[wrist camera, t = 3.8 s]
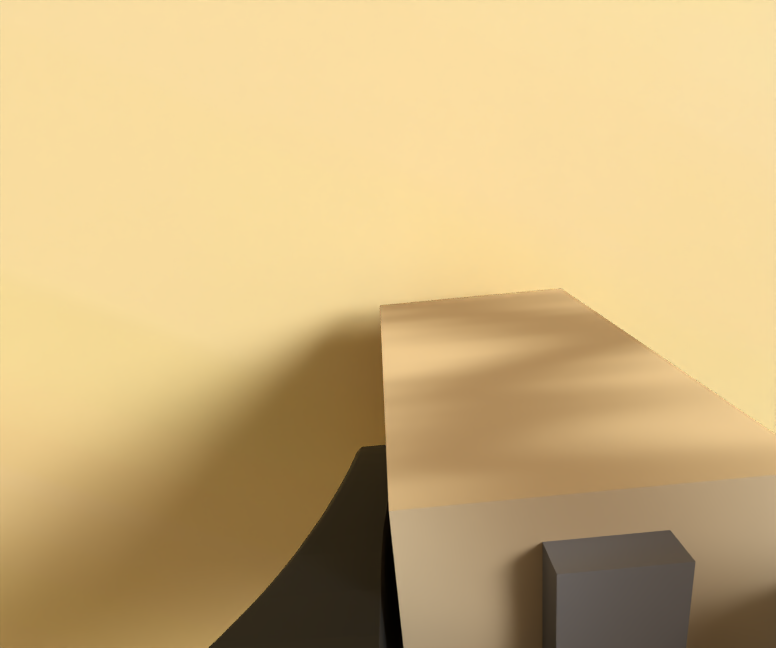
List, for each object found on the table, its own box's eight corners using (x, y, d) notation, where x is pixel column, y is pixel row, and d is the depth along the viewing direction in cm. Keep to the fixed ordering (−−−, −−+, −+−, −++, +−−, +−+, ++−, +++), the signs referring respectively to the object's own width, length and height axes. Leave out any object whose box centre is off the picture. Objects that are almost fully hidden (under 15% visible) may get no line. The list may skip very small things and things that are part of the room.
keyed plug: (560, 288, 11) (869, 497, 4) (558, 516, 13) (771, 927, 6) (379, 305, 11) (390, 542, 4) (402, 530, 13) (436, 957, 6)
